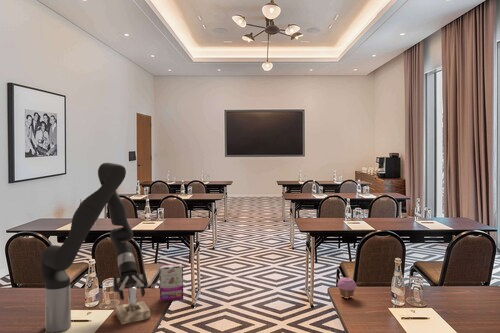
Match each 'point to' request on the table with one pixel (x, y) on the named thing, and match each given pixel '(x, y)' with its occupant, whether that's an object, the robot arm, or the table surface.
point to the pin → (132, 298)
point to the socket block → (132, 313)
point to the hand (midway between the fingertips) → (133, 297)
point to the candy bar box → (171, 282)
